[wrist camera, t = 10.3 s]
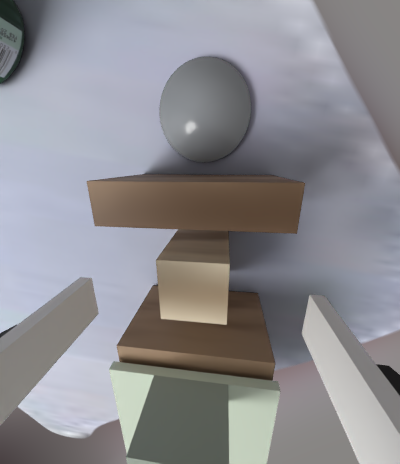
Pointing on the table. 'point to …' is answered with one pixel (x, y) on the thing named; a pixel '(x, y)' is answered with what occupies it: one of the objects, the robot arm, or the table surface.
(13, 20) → the coffee jar
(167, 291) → the block
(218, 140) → the grey round disc
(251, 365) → the brown and beige stand
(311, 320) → the robot arm
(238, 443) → the cover
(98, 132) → the table surface
